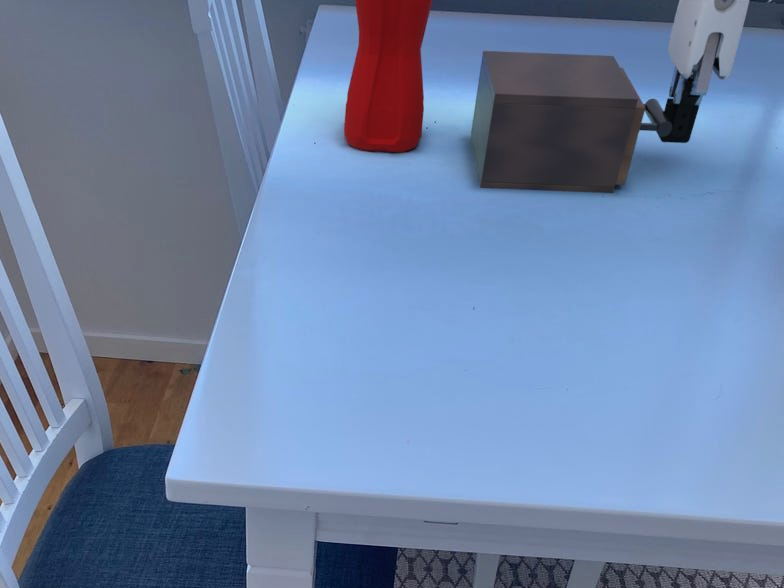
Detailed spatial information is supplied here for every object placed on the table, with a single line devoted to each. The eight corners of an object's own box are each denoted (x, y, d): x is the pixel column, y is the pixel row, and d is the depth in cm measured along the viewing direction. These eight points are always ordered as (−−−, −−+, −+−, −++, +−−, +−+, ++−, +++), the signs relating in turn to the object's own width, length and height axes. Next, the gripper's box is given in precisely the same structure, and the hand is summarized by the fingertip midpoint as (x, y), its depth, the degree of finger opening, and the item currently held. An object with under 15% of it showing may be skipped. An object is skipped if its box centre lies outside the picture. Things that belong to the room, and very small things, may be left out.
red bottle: (420, 124, 117) (448, -132, 99) (420, 158, 110) (450, -111, 91) (346, 119, 118) (360, -137, 99) (341, 154, 110) (355, -116, 92)
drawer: (640, 142, 112) (660, 68, 107) (663, 186, 104) (687, 109, 98) (491, 136, 113) (503, 62, 107) (502, 180, 104) (515, 102, 98)
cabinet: (591, 147, 114) (613, 55, 106) (612, 195, 104) (638, 99, 97) (469, 142, 114) (483, 50, 106) (479, 190, 104) (495, 93, 97)
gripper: (787, -41, 88) (721, 166, 101) (747, -74, 98) (692, 118, 111) (705, -43, 88) (651, 163, 101) (674, -76, 98) (628, 116, 112)
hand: (673, 139), depth 106 cm, fingers closed
